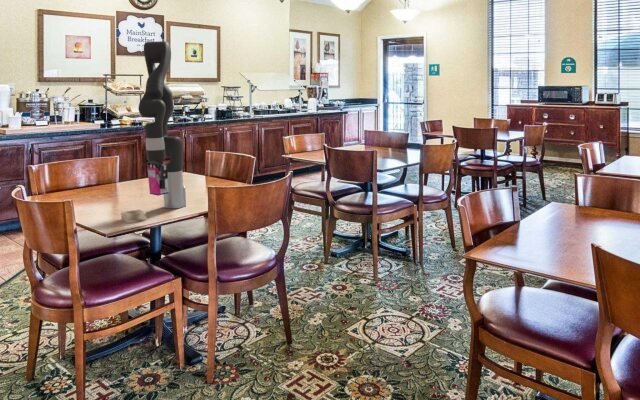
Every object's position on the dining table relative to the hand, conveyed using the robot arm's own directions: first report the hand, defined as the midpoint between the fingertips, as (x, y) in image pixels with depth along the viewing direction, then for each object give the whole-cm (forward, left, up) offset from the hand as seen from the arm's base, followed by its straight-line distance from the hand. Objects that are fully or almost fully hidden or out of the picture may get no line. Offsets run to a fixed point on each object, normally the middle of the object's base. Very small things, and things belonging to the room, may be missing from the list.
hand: (158, 187), depth 230 cm
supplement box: (0, 0, -3) cm, 3 cm away
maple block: (+8, -8, -14) cm, 18 cm away
